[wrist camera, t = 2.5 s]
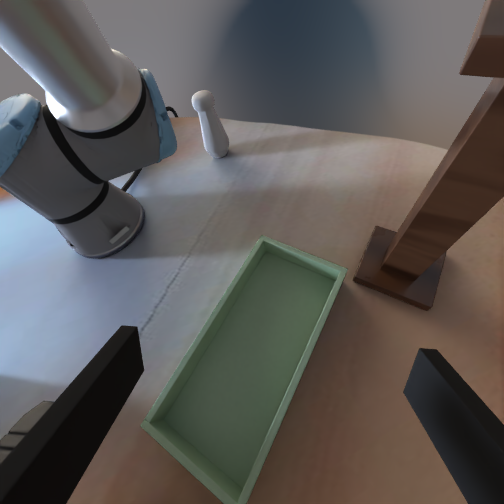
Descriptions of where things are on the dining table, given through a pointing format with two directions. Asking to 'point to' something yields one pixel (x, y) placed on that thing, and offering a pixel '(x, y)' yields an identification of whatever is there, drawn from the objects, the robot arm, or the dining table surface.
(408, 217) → the stand
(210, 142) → the salt shaker
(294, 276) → the tray
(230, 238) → the dining table surface
